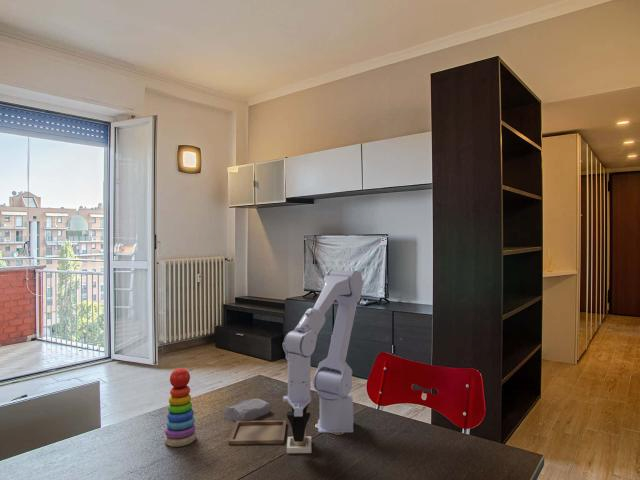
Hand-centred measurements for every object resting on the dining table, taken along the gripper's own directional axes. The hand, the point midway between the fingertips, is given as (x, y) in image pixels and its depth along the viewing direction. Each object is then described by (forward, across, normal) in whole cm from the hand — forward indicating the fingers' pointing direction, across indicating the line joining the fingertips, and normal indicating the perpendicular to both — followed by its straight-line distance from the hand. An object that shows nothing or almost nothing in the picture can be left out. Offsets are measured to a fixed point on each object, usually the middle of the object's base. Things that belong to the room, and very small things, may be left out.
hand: (299, 433), depth 108 cm
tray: (+4, -8, -11) cm, 14 cm away
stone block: (+4, -22, -16) cm, 27 cm away
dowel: (+3, 0, 0) cm, 3 cm away
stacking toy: (+4, -5, -31) cm, 32 cm away
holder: (+4, 0, 0) cm, 4 cm away
